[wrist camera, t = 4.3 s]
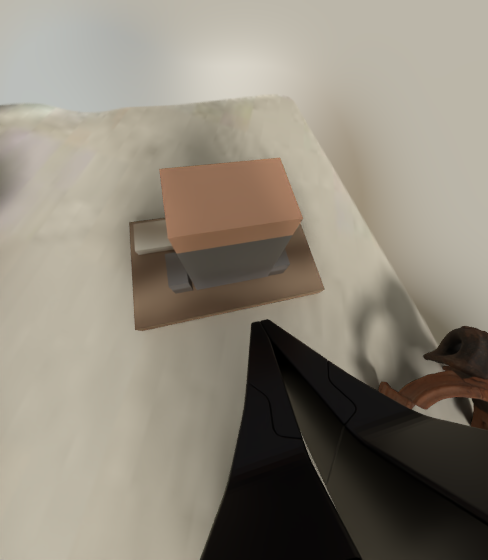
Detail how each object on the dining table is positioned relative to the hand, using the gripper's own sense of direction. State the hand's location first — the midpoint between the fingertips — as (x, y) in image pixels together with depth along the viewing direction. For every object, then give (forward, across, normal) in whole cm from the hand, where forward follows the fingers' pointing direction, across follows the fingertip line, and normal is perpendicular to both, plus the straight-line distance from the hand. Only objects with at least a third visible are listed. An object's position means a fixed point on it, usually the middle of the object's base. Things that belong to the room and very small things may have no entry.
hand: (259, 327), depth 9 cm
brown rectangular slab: (+12, 0, +1) cm, 13 cm away
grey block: (+10, 0, +1) cm, 10 cm away
